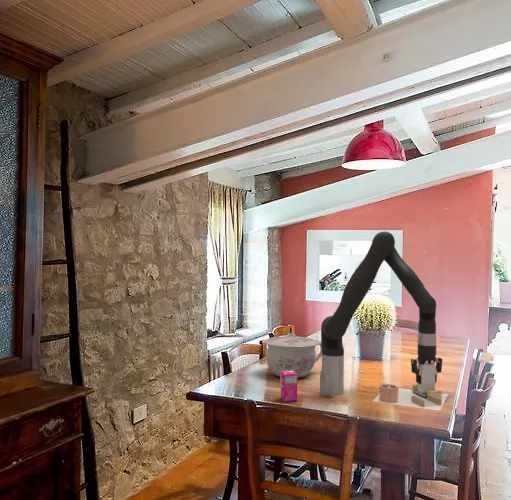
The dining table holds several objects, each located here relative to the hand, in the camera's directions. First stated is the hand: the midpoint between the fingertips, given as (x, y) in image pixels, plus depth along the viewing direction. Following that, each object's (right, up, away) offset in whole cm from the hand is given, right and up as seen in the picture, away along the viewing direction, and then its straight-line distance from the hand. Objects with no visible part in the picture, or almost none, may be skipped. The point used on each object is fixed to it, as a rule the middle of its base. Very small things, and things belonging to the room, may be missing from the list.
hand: (426, 383), depth 221 cm
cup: (-18, -5, -7) cm, 20 cm away
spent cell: (-18, -5, -7) cm, 20 cm away
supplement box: (-58, -6, -5) cm, 59 cm away
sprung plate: (0, -5, 0) cm, 5 cm away
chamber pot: (-54, -6, +38) cm, 66 cm away
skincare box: (0, -4, 0) cm, 4 cm away
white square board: (-7, -6, -3) cm, 10 cm away
